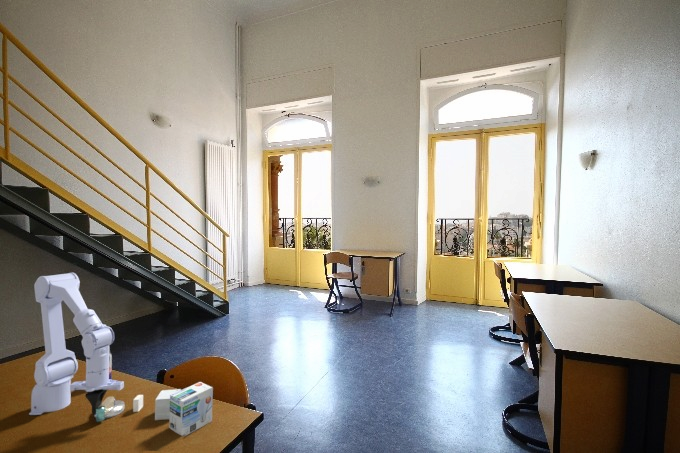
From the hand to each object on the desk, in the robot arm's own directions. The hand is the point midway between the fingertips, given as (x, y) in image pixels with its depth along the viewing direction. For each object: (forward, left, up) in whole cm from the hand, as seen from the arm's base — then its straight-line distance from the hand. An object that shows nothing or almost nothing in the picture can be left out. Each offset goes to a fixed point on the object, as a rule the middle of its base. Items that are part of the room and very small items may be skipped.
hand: (96, 412), depth 102 cm
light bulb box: (+29, -2, -4) cm, 29 cm away
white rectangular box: (+9, +6, -2) cm, 11 cm away
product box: (+20, +3, -4) cm, 20 cm away
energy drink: (-12, +23, -4) cm, 26 cm away
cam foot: (+1, +3, -2) cm, 4 cm away
